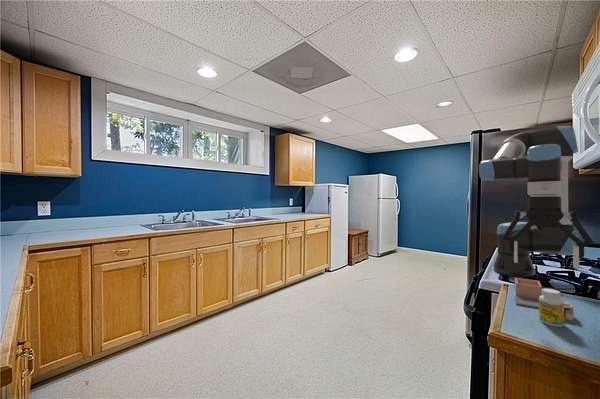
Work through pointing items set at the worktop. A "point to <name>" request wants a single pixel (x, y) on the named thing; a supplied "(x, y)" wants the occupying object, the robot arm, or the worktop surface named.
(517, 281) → the pink square bin
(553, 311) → the supplement bottle
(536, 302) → the slate coaster
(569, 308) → the letter cube
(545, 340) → the worktop surface
